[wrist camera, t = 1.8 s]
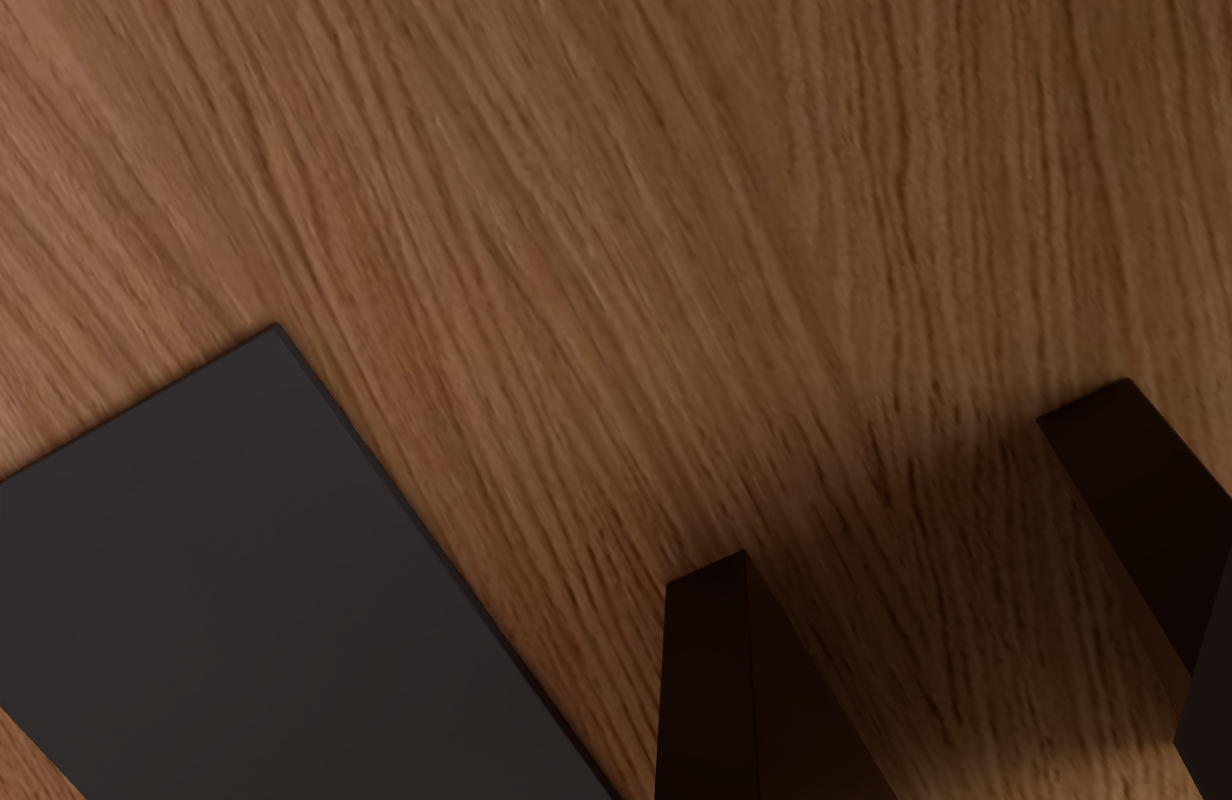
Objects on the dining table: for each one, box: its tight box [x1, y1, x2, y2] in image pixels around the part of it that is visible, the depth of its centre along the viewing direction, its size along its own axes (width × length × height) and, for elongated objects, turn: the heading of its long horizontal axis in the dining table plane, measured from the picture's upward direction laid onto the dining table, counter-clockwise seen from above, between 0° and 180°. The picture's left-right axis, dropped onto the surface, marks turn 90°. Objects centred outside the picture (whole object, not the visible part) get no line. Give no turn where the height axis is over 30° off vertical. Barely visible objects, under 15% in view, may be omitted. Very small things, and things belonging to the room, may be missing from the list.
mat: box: [0, 323, 621, 800], centre depth 43 cm, size 18×26×1 cm
